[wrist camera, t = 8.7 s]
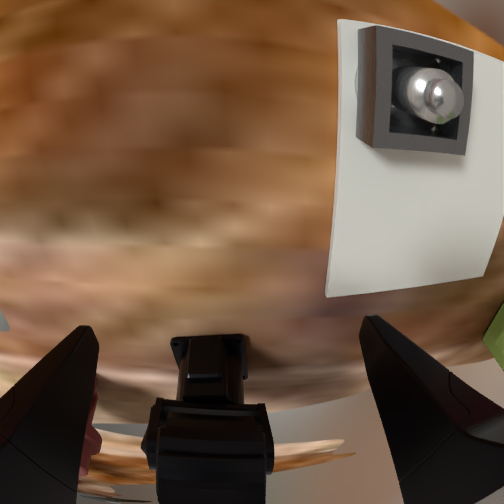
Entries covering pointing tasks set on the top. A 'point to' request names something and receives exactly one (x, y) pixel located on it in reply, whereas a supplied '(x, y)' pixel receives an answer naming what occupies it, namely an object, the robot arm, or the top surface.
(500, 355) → the green pegged block
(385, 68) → the square frame
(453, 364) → the top surface
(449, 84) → the silver domed knob
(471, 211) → the mat
